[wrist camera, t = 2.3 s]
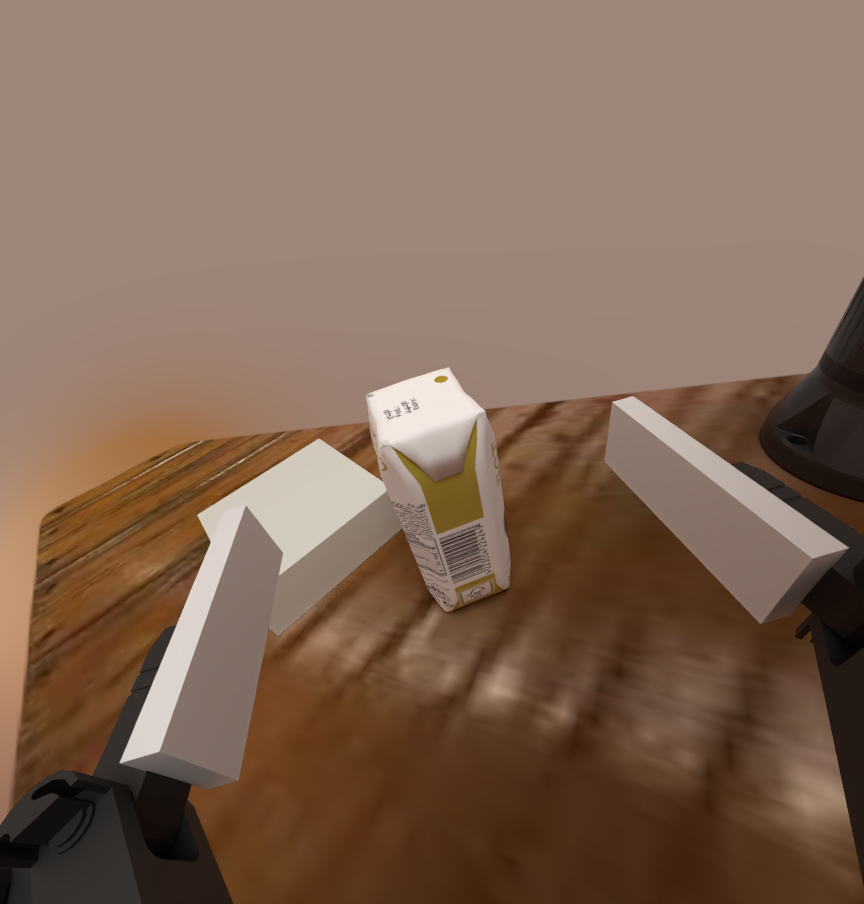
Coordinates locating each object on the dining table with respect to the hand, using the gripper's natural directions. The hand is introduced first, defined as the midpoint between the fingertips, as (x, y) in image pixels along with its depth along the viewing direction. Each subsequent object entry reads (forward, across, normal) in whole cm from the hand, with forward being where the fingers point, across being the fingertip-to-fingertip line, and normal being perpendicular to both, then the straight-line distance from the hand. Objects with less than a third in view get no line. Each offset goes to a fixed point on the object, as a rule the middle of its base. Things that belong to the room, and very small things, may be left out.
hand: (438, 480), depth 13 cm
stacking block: (+20, -16, -21) cm, 33 cm away
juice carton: (+10, 0, -21) cm, 23 cm away
